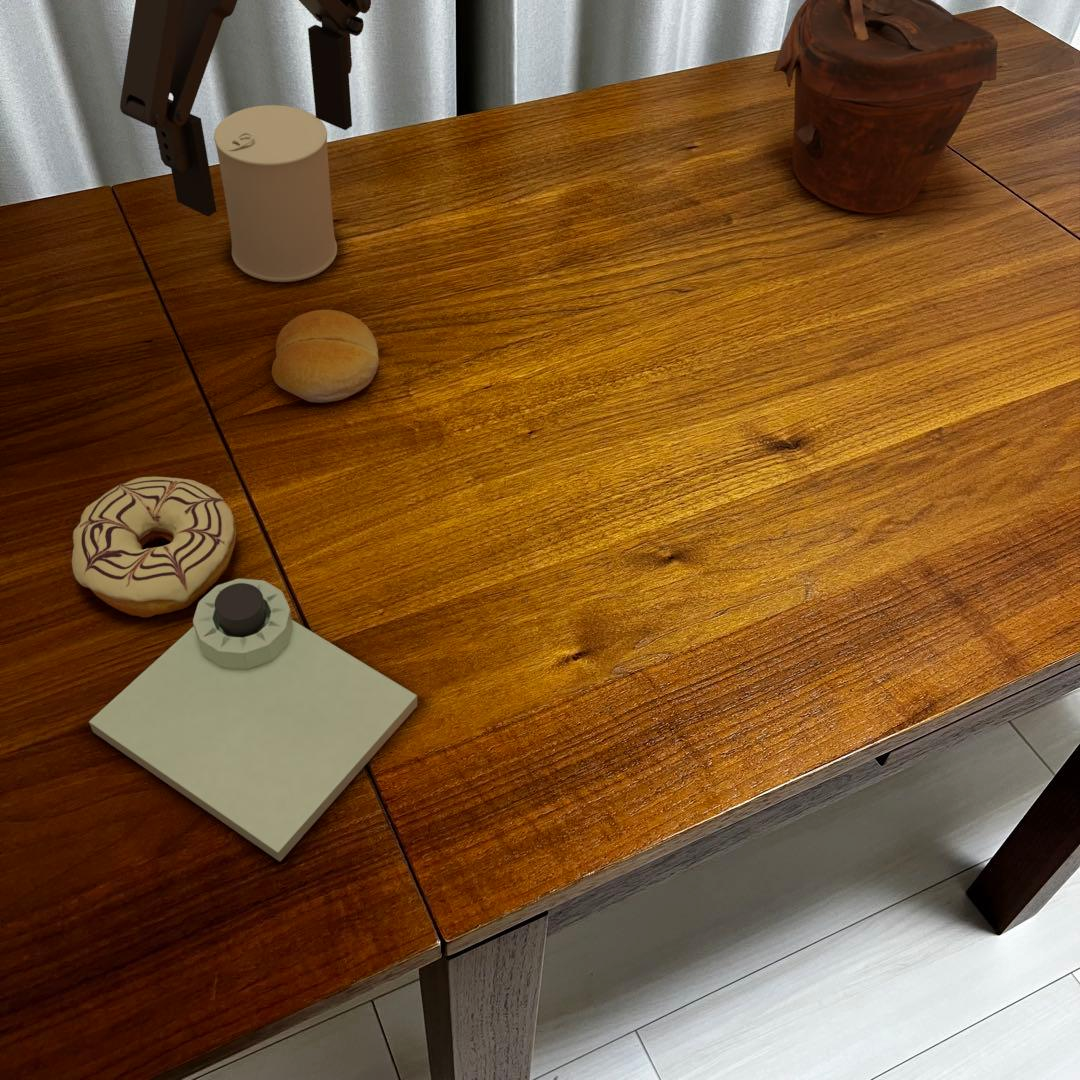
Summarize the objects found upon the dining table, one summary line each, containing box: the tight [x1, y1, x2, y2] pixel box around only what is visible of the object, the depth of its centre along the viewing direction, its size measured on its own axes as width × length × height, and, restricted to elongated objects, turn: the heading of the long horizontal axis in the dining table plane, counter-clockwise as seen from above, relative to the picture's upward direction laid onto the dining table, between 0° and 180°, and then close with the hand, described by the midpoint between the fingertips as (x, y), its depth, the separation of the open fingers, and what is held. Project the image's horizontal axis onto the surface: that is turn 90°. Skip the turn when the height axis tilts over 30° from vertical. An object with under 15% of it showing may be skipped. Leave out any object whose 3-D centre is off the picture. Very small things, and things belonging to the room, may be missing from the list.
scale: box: [88, 577, 418, 863], centre depth 73 cm, size 15×13×3 cm
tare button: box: [215, 583, 266, 637], centre depth 75 cm, size 3×3×2 cm
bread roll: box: [271, 309, 380, 404], centre depth 95 cm, size 8×9×4 cm
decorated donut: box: [71, 476, 237, 619], centre depth 81 cm, size 10×11×4 cm
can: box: [213, 104, 338, 283], centre depth 102 cm, size 9×9×12 cm
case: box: [773, 0, 999, 214], centre depth 113 cm, size 18×20×18 cm
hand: (268, 162), depth 81 cm, fingers open, 13 cm apart
